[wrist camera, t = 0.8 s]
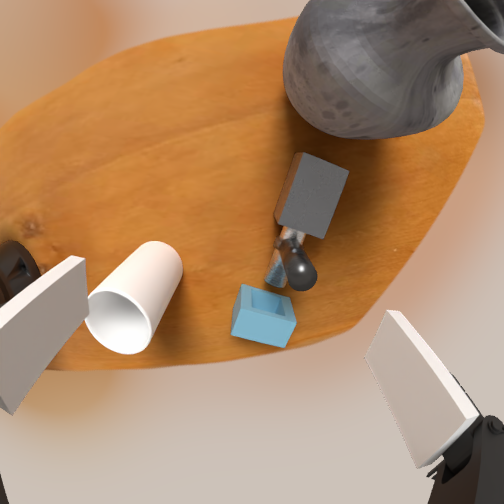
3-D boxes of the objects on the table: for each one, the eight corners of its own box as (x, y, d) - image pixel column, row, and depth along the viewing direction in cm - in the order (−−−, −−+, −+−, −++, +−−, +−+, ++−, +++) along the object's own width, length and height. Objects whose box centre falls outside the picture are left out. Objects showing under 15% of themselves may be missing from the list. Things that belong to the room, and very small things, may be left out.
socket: (241, 283, 42) (240, 308, 35) (289, 297, 43) (296, 322, 36) (233, 308, 43) (230, 334, 36) (279, 320, 44) (284, 347, 37)
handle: (302, 156, 35) (328, 156, 23) (329, 167, 35) (365, 173, 24) (260, 272, 40) (265, 317, 29) (286, 279, 41) (299, 326, 29)
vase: (377, 153, 35) (562, 178, 7) (269, 132, 35) (345, 50, 6) (384, 58, 30) (528, -11, 2) (281, 32, 29) (333, -125, 1)
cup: (193, 267, 41) (166, 328, 26) (161, 300, 43) (127, 365, 27) (153, 229, 39) (103, 273, 24) (124, 266, 41) (73, 319, 25)
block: (295, 153, 35) (303, 152, 30) (334, 168, 36) (349, 171, 31) (273, 213, 38) (277, 223, 33) (312, 227, 39) (323, 239, 33)
